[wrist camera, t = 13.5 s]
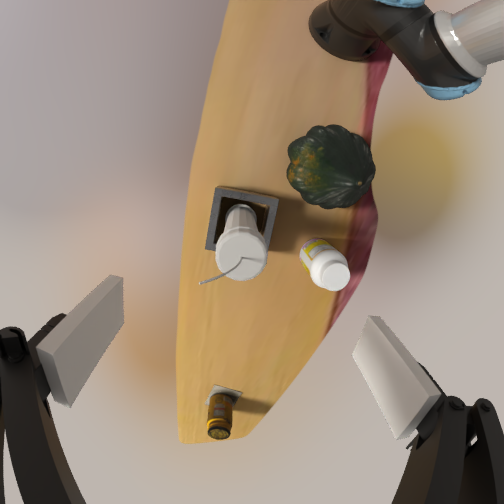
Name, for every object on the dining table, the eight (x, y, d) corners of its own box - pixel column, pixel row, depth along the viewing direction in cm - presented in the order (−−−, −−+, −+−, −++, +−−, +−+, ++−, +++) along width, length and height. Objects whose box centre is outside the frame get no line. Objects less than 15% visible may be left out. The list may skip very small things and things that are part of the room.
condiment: (204, 403, 64) (200, 437, 53) (214, 384, 62) (211, 420, 50) (230, 410, 65) (229, 444, 54) (241, 391, 63) (242, 427, 52)
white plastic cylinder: (257, 230, 51) (278, 306, 23) (223, 233, 51) (204, 313, 23) (254, 201, 50) (274, 242, 21) (220, 204, 50) (193, 250, 21)
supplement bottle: (325, 272, 54) (347, 300, 42) (294, 265, 54) (310, 293, 41) (335, 241, 53) (361, 262, 40) (304, 233, 52) (323, 252, 40)
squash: (289, 104, 40) (306, 160, 32) (370, 118, 41) (404, 174, 33) (277, 167, 52) (286, 228, 44) (347, 173, 53) (367, 231, 45)
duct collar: (274, 196, 50) (279, 199, 44) (263, 250, 52) (265, 260, 47) (218, 185, 49) (215, 187, 43) (208, 240, 52) (204, 249, 46)
